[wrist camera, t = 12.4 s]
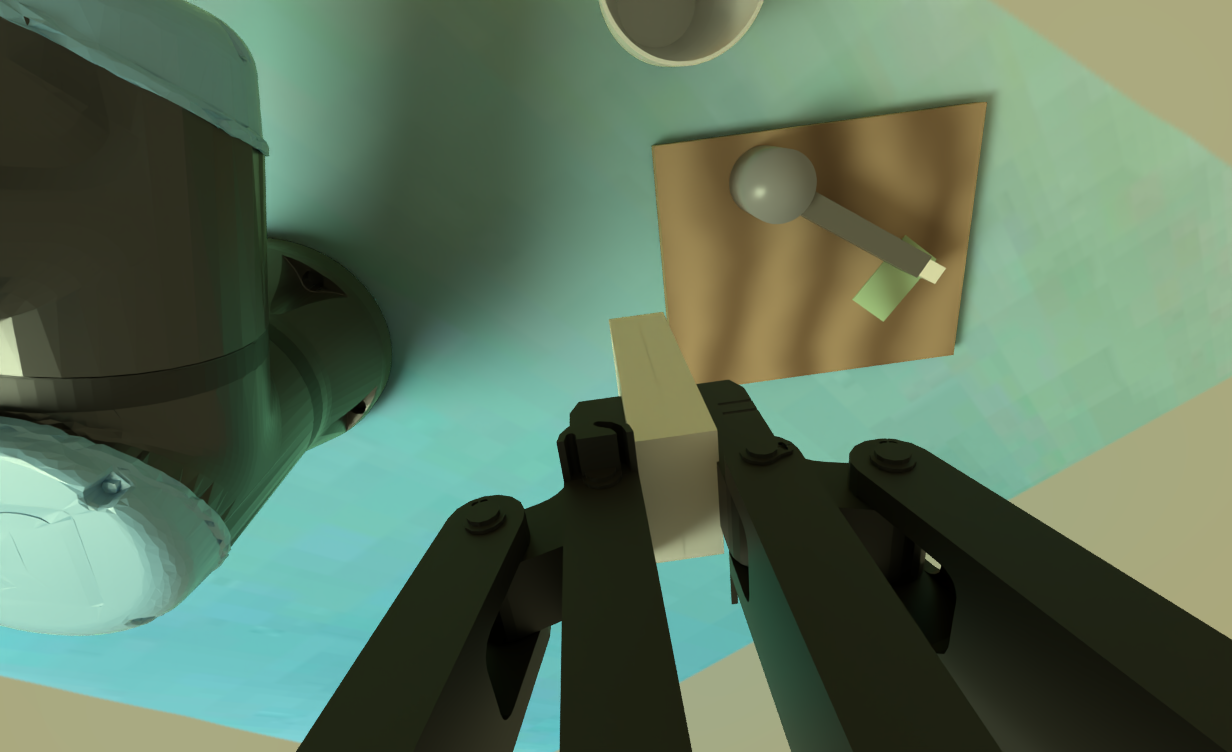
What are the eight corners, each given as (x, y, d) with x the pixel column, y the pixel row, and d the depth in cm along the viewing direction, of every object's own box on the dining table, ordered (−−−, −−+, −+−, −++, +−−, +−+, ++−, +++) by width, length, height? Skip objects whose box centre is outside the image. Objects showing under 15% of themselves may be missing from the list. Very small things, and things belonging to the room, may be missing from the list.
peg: (717, 196, 39) (732, 204, 35) (751, 133, 38) (770, 134, 34) (897, 292, 43) (927, 308, 39) (934, 237, 41) (969, 249, 38)
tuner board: (672, 386, 46) (675, 393, 45) (651, 145, 39) (654, 146, 38) (944, 349, 46) (954, 355, 45) (975, 102, 39) (988, 102, 38)
